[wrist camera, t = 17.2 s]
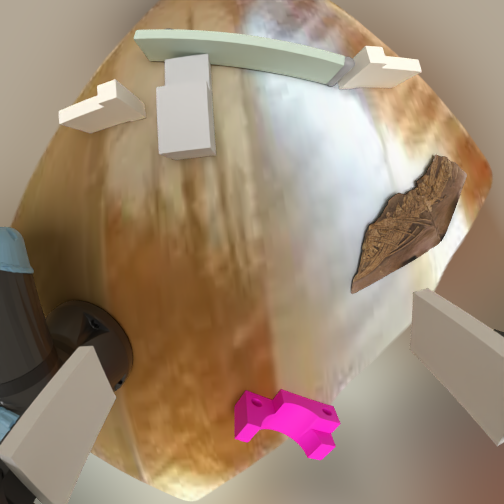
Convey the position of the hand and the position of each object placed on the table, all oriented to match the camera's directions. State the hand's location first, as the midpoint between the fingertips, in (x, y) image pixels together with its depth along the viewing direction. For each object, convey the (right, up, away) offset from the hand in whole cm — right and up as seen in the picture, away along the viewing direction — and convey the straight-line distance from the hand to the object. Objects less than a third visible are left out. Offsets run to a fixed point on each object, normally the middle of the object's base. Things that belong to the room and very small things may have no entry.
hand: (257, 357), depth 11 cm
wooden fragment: (+19, +11, +27) cm, 35 cm away
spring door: (-1, +28, +21) cm, 35 cm away
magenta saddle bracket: (+5, -21, +33) cm, 39 cm away
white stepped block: (-7, +21, +22) cm, 32 cm away
